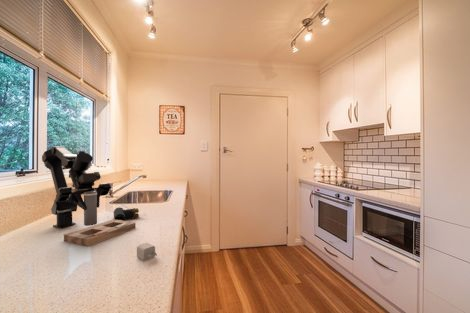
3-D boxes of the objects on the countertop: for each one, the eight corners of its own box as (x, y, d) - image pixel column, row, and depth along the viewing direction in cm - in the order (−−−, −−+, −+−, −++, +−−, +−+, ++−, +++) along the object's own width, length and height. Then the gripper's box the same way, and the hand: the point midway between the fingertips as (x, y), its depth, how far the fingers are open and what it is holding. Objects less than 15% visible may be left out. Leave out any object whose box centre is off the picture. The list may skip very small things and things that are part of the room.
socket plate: (63, 240, 88) (63, 233, 88) (113, 224, 108) (113, 218, 108) (88, 246, 82) (88, 238, 82) (135, 227, 103) (135, 221, 103)
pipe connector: (136, 205, 126) (139, 211, 113) (136, 214, 127) (140, 221, 113) (113, 207, 121) (113, 214, 108) (113, 217, 121) (114, 225, 108)
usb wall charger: (148, 253, 76) (148, 242, 76) (159, 259, 72) (159, 247, 72) (136, 258, 73) (136, 245, 73) (148, 264, 69) (147, 251, 69)
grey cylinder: (80, 225, 88) (80, 192, 88) (89, 222, 93) (89, 190, 93) (91, 226, 88) (91, 193, 88) (99, 222, 92) (99, 190, 92)
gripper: (58, 166, 84) (70, 199, 78) (109, 164, 100) (122, 192, 94) (50, 185, 89) (61, 218, 83) (100, 181, 104) (113, 208, 98)
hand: (92, 208), depth 89 cm, fingers closed on grey cylinder, 4 cm apart
